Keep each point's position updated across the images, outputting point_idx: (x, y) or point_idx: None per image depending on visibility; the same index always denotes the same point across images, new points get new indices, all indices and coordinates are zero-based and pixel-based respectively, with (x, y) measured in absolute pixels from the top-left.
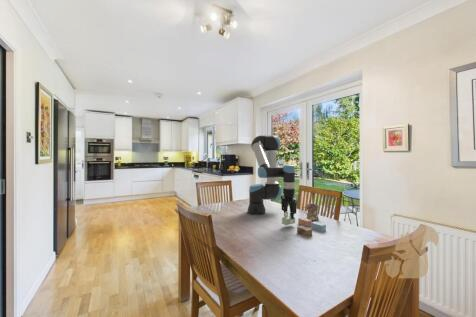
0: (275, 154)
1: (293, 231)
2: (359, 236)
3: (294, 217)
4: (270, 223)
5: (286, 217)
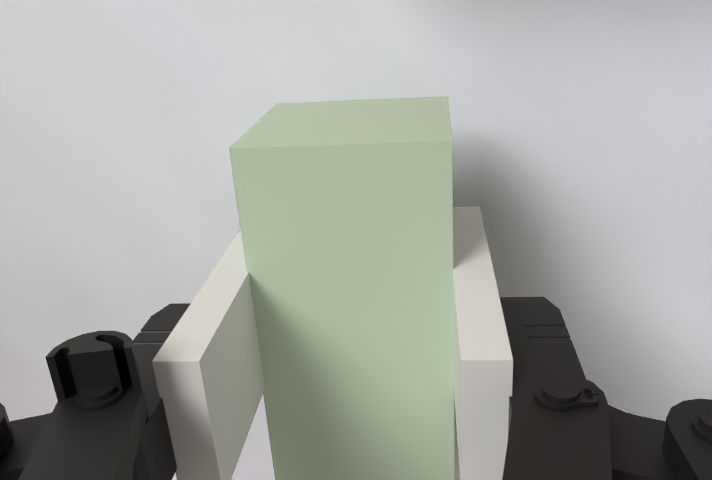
0: None
1: (676, 355)
2: None
3: (451, 165)
4: (50, 396)
5: (321, 386)
